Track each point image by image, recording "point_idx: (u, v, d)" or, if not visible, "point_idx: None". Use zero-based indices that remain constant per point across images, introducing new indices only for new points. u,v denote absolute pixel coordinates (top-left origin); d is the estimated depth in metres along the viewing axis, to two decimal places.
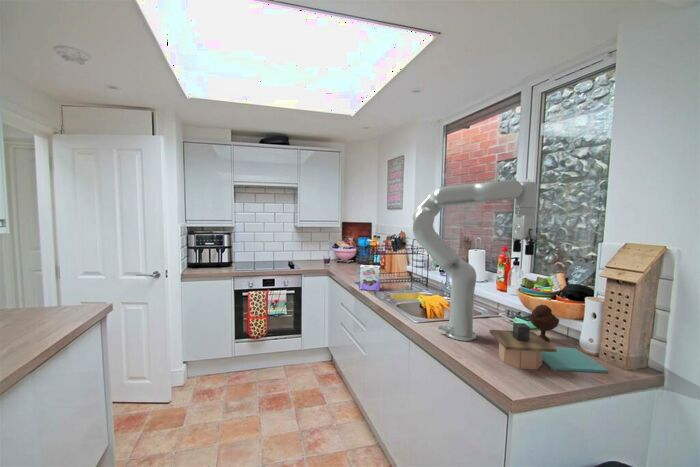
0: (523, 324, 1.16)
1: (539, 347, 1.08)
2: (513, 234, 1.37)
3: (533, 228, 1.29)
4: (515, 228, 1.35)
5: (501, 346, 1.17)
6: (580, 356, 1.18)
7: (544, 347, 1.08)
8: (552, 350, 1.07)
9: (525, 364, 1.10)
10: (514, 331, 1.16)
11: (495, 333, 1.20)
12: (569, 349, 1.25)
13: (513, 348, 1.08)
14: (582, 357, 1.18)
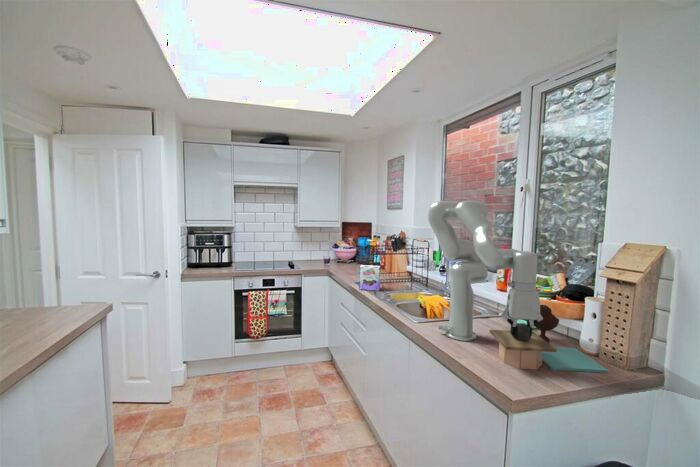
0: (523, 324, 1.16)
1: (539, 347, 1.08)
2: (516, 314, 1.13)
3: None
4: (521, 307, 1.12)
5: (501, 346, 1.17)
6: (580, 356, 1.18)
7: (544, 347, 1.08)
8: (552, 350, 1.07)
9: (525, 364, 1.10)
10: None
11: (495, 333, 1.20)
12: (569, 349, 1.25)
13: (513, 348, 1.08)
14: (582, 357, 1.18)
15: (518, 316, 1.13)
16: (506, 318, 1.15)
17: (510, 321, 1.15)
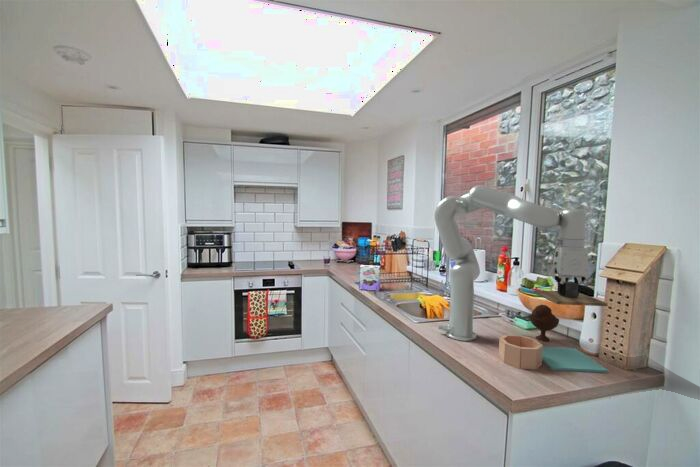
0: (570, 282, 1.17)
1: (589, 302, 1.09)
2: (565, 271, 1.13)
3: None
4: (570, 264, 1.13)
5: (501, 346, 1.17)
6: (580, 356, 1.18)
7: (594, 302, 1.09)
8: (603, 304, 1.08)
9: (525, 364, 1.10)
10: None
11: (541, 292, 1.21)
12: (569, 349, 1.25)
13: (564, 303, 1.09)
14: (582, 357, 1.18)
15: (567, 273, 1.13)
16: (554, 275, 1.16)
17: (558, 278, 1.16)
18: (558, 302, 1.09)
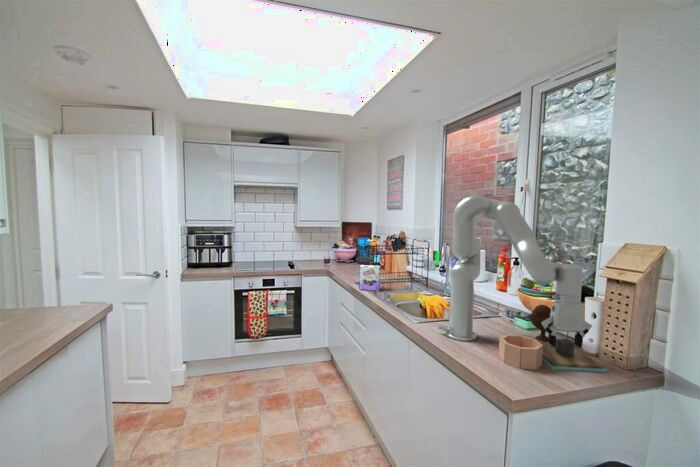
0: (566, 340, 1.18)
1: (585, 364, 1.10)
2: (562, 326, 1.15)
3: None
4: (566, 319, 1.14)
5: (501, 346, 1.17)
6: None
7: (590, 364, 1.10)
8: (598, 367, 1.09)
9: (525, 364, 1.10)
10: (557, 347, 1.18)
11: None
12: None
13: (560, 365, 1.10)
14: None
15: (563, 328, 1.15)
16: (545, 326, 1.17)
17: (548, 330, 1.17)
18: (554, 364, 1.10)
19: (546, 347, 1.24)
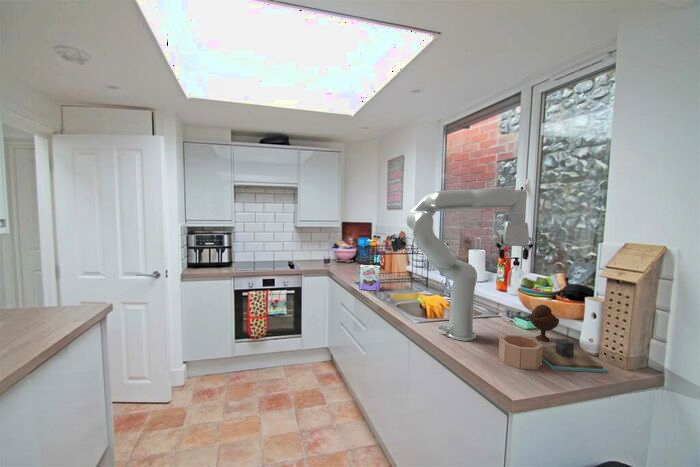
0: (566, 340, 1.18)
1: (585, 364, 1.10)
2: (509, 241, 1.36)
3: None
4: (513, 235, 1.36)
5: (501, 346, 1.17)
6: None
7: (590, 364, 1.10)
8: (598, 367, 1.09)
9: (525, 364, 1.10)
10: (557, 347, 1.18)
11: None
12: None
13: (560, 365, 1.10)
14: None
15: (511, 242, 1.36)
16: (496, 242, 1.39)
17: (498, 245, 1.39)
18: (554, 364, 1.10)
19: (546, 347, 1.24)
